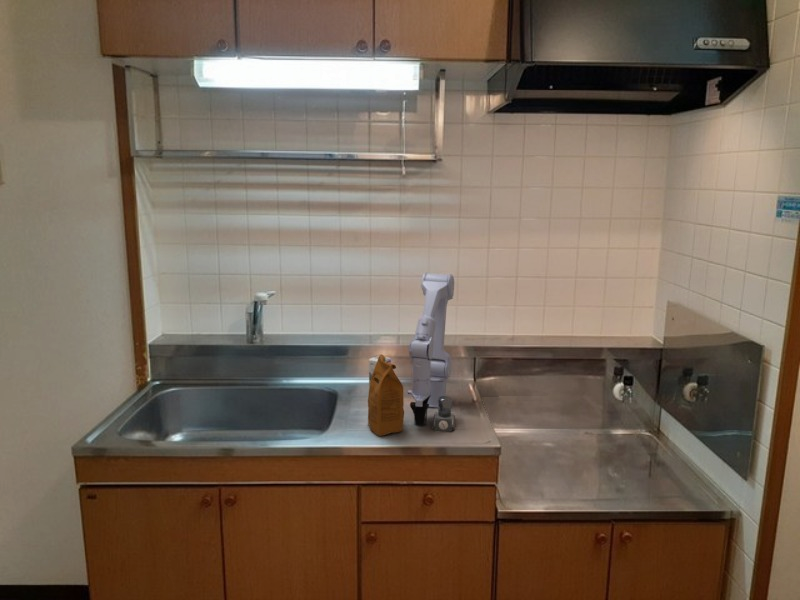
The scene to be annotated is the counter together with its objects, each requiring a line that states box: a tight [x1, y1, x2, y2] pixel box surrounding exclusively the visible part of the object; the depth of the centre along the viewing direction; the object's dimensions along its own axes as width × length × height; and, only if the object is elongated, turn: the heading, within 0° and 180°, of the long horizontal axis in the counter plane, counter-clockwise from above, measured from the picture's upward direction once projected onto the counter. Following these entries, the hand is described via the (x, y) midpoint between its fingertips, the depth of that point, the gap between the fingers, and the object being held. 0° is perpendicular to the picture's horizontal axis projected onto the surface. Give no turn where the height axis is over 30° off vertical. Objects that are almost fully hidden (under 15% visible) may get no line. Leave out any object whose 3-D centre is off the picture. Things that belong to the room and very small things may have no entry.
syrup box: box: [368, 355, 392, 388], centre depth 201 cm, size 6×6×14 cm
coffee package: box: [367, 354, 405, 437], centre depth 176 cm, size 10×12×22 cm
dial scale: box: [432, 411, 456, 433], centre depth 181 cm, size 11×7×4 cm, turn 173°
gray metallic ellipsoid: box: [437, 395, 452, 418], centre depth 183 cm, size 4×4×6 cm
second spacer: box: [413, 410, 428, 428], centre depth 181 cm, size 4×4×6 cm
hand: (420, 419), depth 181 cm, fingers open, 7 cm apart
